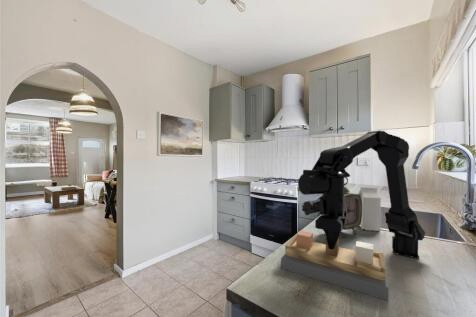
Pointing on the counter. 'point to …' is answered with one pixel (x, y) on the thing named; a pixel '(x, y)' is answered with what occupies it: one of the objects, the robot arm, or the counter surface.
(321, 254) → the tray
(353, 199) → the tabletop clock
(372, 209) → the milk carton
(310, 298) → the counter surface
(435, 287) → the counter surface
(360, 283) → the grey flat slab
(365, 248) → the block
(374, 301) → the counter surface
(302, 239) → the block
